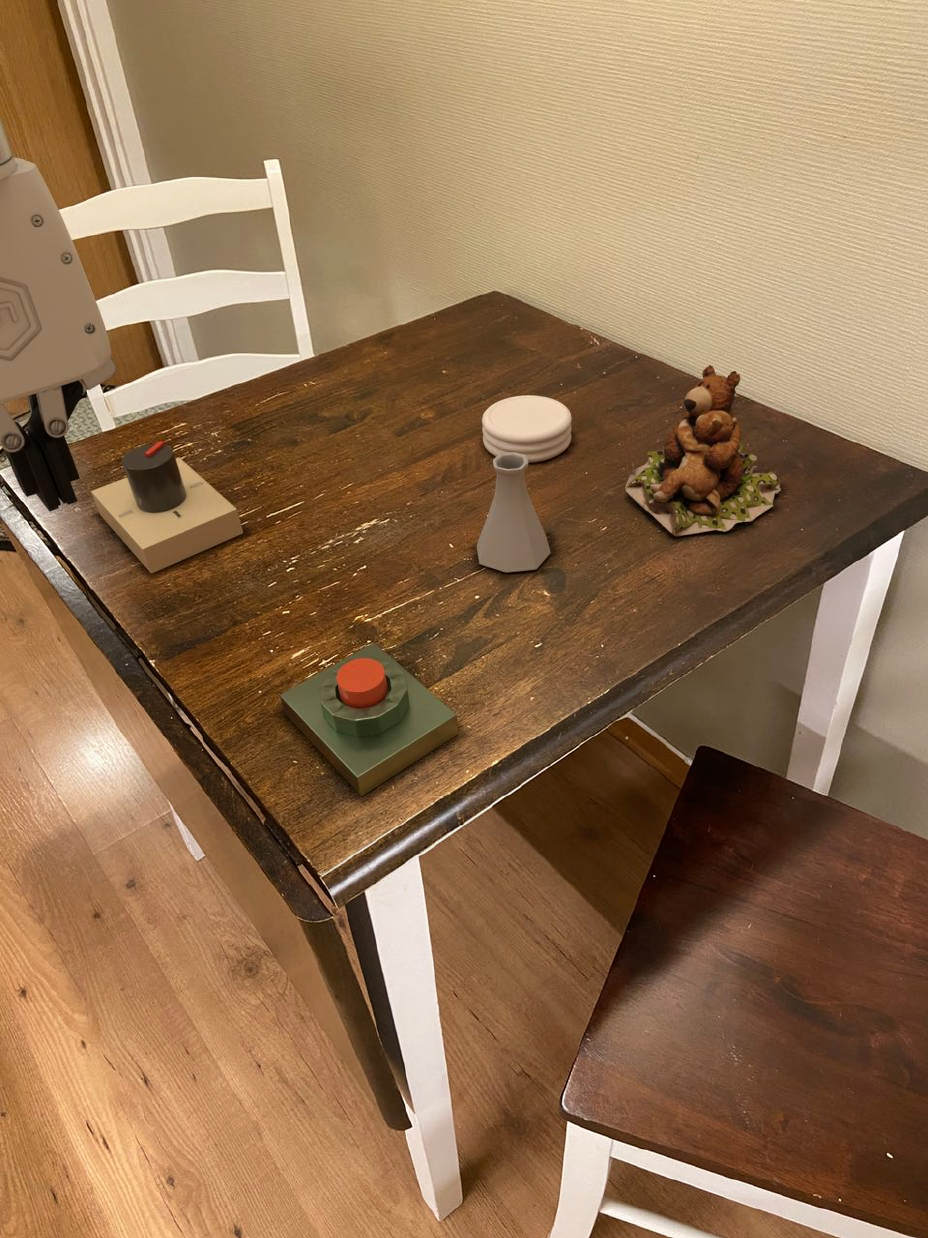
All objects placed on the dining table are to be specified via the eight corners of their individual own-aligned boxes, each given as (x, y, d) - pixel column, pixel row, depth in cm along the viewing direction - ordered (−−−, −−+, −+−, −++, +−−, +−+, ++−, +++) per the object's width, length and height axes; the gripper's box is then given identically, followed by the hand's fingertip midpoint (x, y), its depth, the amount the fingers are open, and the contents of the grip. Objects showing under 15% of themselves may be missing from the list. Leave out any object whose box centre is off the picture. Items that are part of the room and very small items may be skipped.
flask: (468, 571, 83) (461, 479, 76) (484, 527, 88) (479, 438, 81) (544, 578, 81) (543, 485, 75) (556, 533, 86) (557, 442, 80)
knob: (167, 516, 87) (151, 470, 84) (126, 508, 89) (109, 462, 86) (196, 490, 91) (182, 444, 87) (156, 483, 92) (141, 437, 89)
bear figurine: (597, 491, 92) (602, 382, 84) (704, 446, 97) (718, 339, 89) (690, 553, 83) (705, 437, 75) (802, 499, 88) (827, 386, 80)
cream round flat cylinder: (465, 441, 101) (463, 413, 99) (531, 412, 106) (531, 385, 103) (521, 474, 95) (520, 446, 93) (589, 443, 99) (590, 414, 97)
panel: (99, 514, 94) (90, 489, 92) (186, 480, 99) (178, 455, 96) (151, 574, 85) (141, 547, 83) (243, 533, 90) (236, 507, 88)
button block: (284, 714, 70) (274, 678, 67) (377, 661, 74) (371, 625, 71) (361, 797, 63) (353, 760, 61) (459, 734, 67) (455, 697, 65)
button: (330, 690, 67) (327, 673, 65) (370, 667, 68) (367, 651, 67) (357, 716, 64) (353, 699, 63) (397, 692, 66) (394, 675, 65)
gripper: (-273, 194, 33) (-66, 578, 45) (110, 127, 40) (203, 478, 52) (-288, 161, 38) (-98, 517, 50) (56, 106, 45) (153, 432, 57)
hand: (55, 496), depth 51 cm, fingers closed
